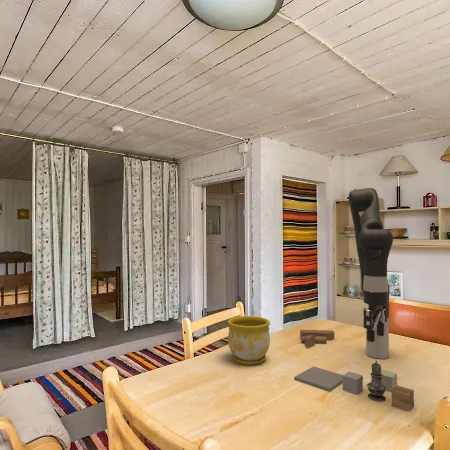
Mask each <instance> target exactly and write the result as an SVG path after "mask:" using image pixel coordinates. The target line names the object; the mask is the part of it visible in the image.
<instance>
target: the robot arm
mask: <svg viewBox="0 0 450 450" xmlns="http://www.w3.org/2000/svg"><path fill="white" fill-rule="evenodd" d="M379 201H380V200H379V196H378V192H377V190H376V188H373V187H367V188H361V189H355V190H350V191H349V193H348V203H349V210H350V213H351V217H352V223H353V228H354V234H355V236H354V237H355V246H356V252H357V256H358V257H357V258H358V262H359V269H360V282H361V283H360V284H361V292H362V297H363V303H365V304H367V305H368V308H366V309H363V329H365V351H366V352H365V354H366V356H368V357H369V358H370V357H371V358H373V359H379V360H383V359H384V360H385V359H388V358H389V357H390V327H389V326H390V322H389V320H390V319H389V316H390V315H389V313H390V283H389V281H388V280H389V279H388V259H389V255H390V251H391V249H392V246H393V242H394V237H393V233H392V232H391V231H390V230H389V229H384V226H383V222H382V219H381V215H380V214H381V209H380V208H381V207H380V202H379ZM362 212H363V213H362ZM360 213H361V215H360Z"/></svg>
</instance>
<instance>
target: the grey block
mask: <svg viewBox="0 0 450 450" xmlns="http://www.w3.org/2000/svg"><path fill="white" fill-rule="evenodd" d="M342 375H343V383H342V390H343V391H345V392H348V393H351V394H354V395H358V394H360V392H362V391H363V390H364V376H363V374H359V373H355V372H352V371H347V372H346V373H344V374H342Z"/></svg>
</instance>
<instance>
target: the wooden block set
mask: <svg viewBox="0 0 450 450" xmlns="http://www.w3.org/2000/svg"><path fill="white" fill-rule="evenodd" d="M299 338H301V339H300V343H301V344H304V345H305V348H306V349H308V350H309V349H310V348H312V347H314V346H316V344H327V342H328V341H333V340H335V330H333V329H331V330H327V329H326V330H325V329H324V330H319V329H299Z"/></svg>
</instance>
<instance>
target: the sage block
mask: <svg viewBox="0 0 450 450" xmlns="http://www.w3.org/2000/svg"><path fill="white" fill-rule="evenodd" d="M381 374H382V377H381V382H382V385H384V386H385V387H386V390H385V391H387V392H391V393H392V389H393V388H394V387H395V386H396V385H398V373H397V372H393V371H390V370H386V369H382V368H381Z"/></svg>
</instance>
